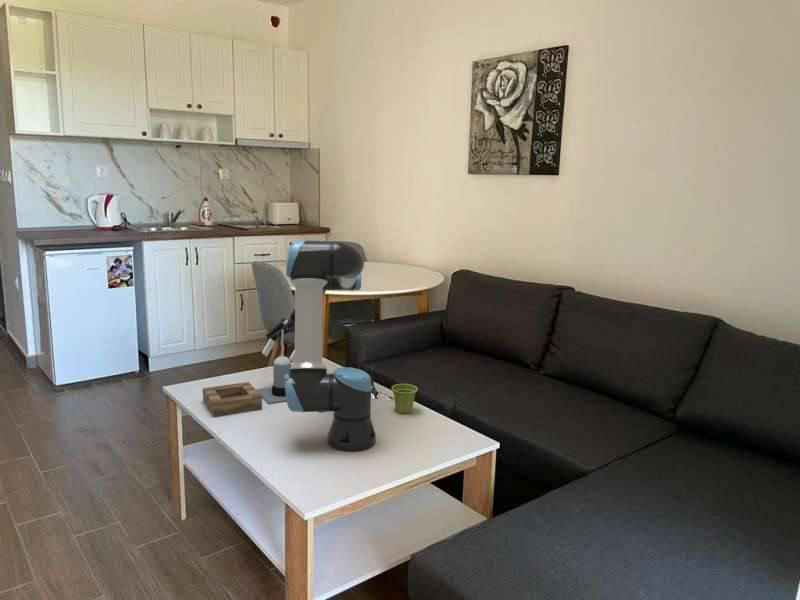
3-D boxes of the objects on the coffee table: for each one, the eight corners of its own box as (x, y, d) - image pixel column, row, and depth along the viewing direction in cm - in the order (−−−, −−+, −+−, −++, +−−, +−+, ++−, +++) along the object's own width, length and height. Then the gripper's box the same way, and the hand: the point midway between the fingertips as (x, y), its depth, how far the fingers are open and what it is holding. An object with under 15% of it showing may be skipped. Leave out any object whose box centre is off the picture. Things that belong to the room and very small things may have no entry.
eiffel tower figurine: (395, 400, 224) (396, 366, 222) (374, 406, 218) (375, 371, 215) (371, 389, 235) (371, 357, 233) (351, 394, 229) (351, 362, 226)
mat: (309, 397, 223) (309, 396, 223) (268, 404, 215) (268, 402, 215) (295, 385, 236) (295, 383, 236) (255, 390, 228) (255, 389, 228)
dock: (261, 409, 210) (261, 396, 209) (213, 417, 202) (213, 403, 201) (248, 394, 225) (248, 381, 224) (203, 401, 216) (202, 388, 215)
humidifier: (296, 394, 224) (295, 331, 219) (274, 397, 220) (274, 333, 215) (290, 388, 231) (289, 326, 226) (269, 390, 227) (268, 328, 222)
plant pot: (417, 406, 217) (418, 384, 215) (415, 416, 208) (416, 393, 206) (392, 405, 218) (393, 383, 216) (389, 414, 208) (390, 391, 207)
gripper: (332, 321, 227) (308, 368, 217) (283, 313, 239) (258, 357, 230) (324, 310, 222) (299, 358, 212) (274, 302, 234) (248, 347, 224)
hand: (277, 357), depth 221 cm, fingers open, 13 cm apart
